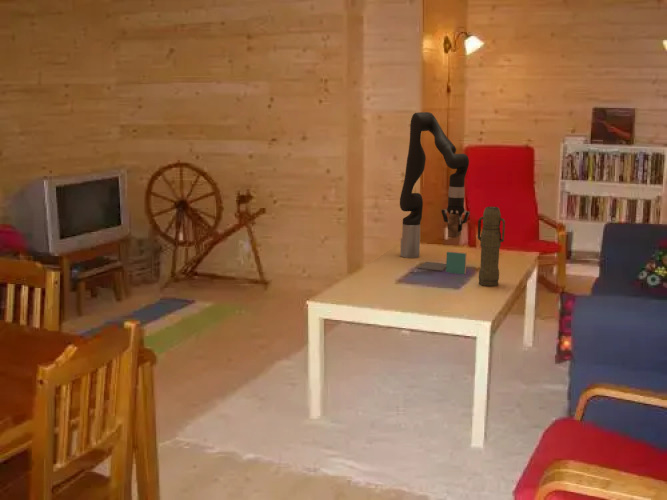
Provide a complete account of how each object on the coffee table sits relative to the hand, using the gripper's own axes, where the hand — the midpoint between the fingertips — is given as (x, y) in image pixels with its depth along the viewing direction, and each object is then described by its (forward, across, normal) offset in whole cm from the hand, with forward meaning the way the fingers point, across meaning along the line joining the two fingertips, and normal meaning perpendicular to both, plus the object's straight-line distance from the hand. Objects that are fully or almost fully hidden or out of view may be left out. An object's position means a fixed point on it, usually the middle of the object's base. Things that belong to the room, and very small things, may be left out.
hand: (454, 231), depth 371 cm
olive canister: (+19, +22, -20) cm, 35 cm away
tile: (+19, +3, -5) cm, 20 cm away
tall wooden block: (+2, 0, 0) cm, 2 cm away
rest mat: (+19, -10, +2) cm, 22 cm away
